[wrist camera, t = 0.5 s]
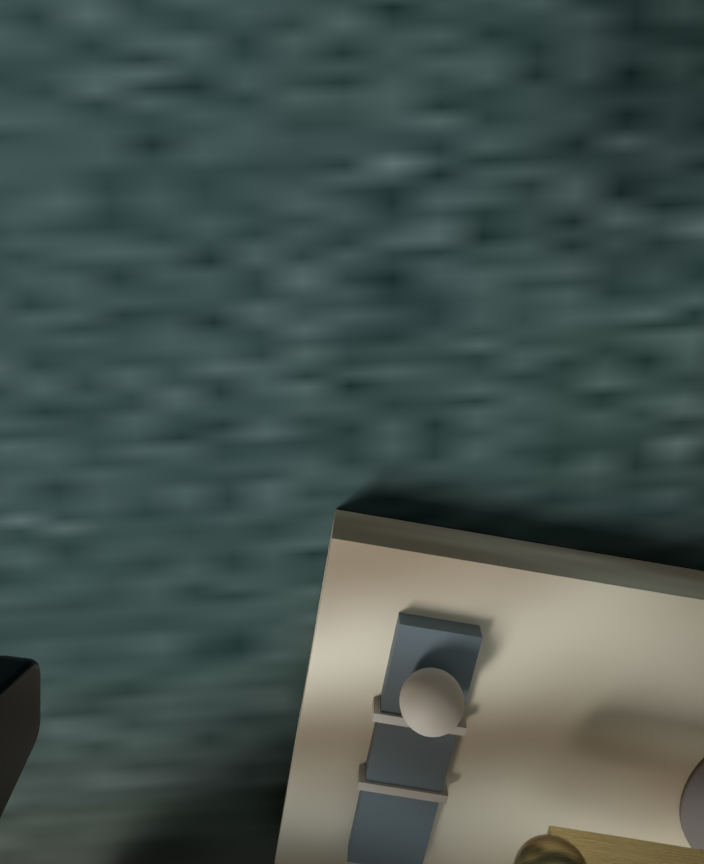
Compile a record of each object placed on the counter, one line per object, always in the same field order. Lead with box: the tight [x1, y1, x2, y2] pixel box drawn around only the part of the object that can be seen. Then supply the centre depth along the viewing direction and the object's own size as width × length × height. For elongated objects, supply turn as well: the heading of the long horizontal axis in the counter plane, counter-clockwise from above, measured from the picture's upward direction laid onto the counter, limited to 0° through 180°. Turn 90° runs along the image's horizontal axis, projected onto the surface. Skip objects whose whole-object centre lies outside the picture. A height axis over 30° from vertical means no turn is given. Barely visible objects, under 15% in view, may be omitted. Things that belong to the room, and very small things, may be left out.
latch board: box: [274, 509, 704, 864], centre depth 21 cm, size 13×24×4 cm, turn 80°
